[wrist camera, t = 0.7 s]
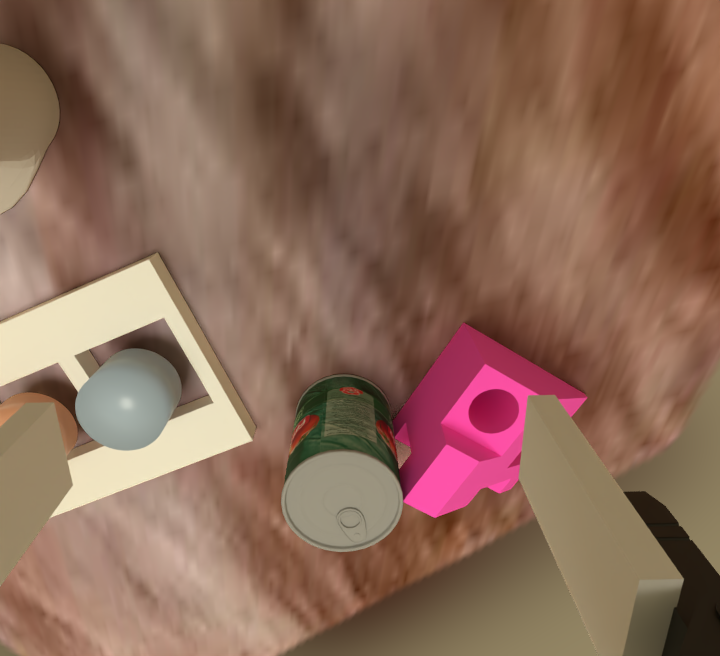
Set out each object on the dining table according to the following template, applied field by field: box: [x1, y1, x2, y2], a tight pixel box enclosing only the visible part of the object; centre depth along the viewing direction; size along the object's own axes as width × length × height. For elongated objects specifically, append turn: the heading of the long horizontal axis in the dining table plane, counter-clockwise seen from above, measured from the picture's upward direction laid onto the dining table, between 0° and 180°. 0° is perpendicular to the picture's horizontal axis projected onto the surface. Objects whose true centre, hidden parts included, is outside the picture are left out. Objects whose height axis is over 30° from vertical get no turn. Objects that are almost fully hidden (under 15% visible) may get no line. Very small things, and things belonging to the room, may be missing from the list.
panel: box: [0, 253, 256, 518], centre depth 45 cm, size 16×28×2 cm, turn 113°
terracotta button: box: [0, 392, 78, 456], centre depth 42 cm, size 6×6×4 cm
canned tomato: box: [281, 374, 403, 552], centre depth 42 cm, size 8×8×11 cm
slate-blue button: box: [75, 348, 182, 451], centre depth 41 cm, size 6×6×4 cm
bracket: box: [392, 322, 587, 518], centre depth 42 cm, size 12×10×10 cm
